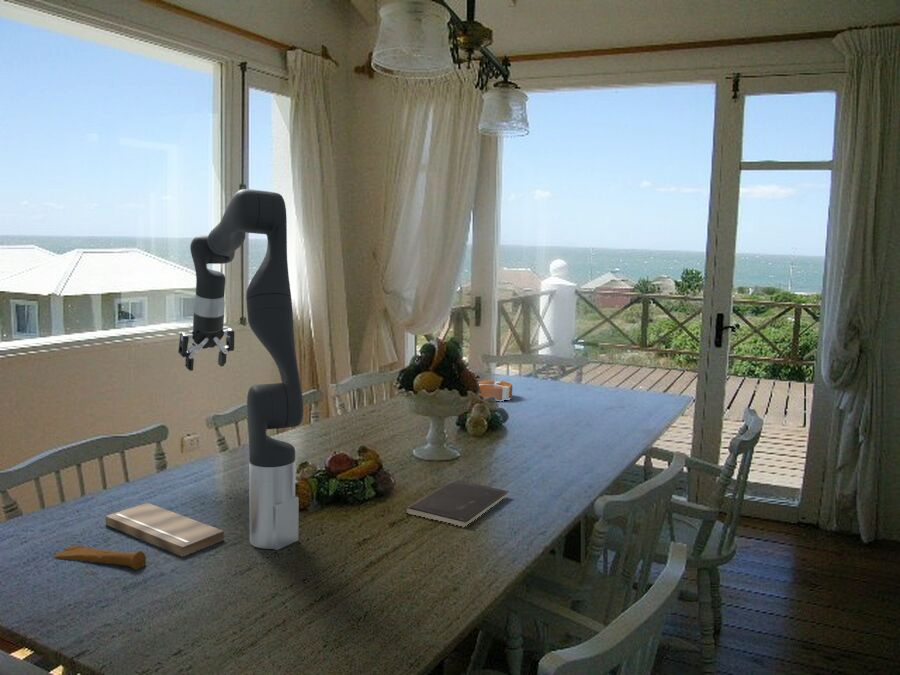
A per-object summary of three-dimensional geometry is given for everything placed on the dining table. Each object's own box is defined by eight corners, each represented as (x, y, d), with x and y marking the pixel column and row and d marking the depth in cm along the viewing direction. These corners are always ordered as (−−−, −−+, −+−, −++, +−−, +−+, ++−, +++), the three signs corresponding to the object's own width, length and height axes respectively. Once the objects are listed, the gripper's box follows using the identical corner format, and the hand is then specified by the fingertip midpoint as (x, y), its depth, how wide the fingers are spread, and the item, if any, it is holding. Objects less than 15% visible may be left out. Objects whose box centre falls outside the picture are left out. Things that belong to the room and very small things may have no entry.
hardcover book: (508, 499, 180) (508, 491, 180) (465, 530, 160) (465, 521, 160) (452, 487, 188) (452, 479, 187) (404, 515, 168) (405, 506, 167)
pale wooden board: (223, 540, 150) (223, 530, 149) (182, 556, 141) (182, 546, 141) (147, 511, 164) (147, 502, 163) (105, 524, 155) (105, 515, 155)
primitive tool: (51, 559, 139) (50, 542, 139) (72, 548, 145) (72, 531, 144) (135, 574, 135) (135, 556, 134) (154, 562, 140) (154, 545, 139)
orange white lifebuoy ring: (468, 397, 293) (494, 393, 303) (493, 404, 282) (520, 400, 292) (468, 380, 292) (495, 377, 302) (494, 387, 281) (521, 383, 291)
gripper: (188, 318, 178) (185, 377, 184) (241, 313, 188) (237, 369, 194) (176, 308, 183) (173, 365, 189) (228, 303, 193) (224, 358, 199)
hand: (205, 367), depth 191 cm, fingers open, 8 cm apart
